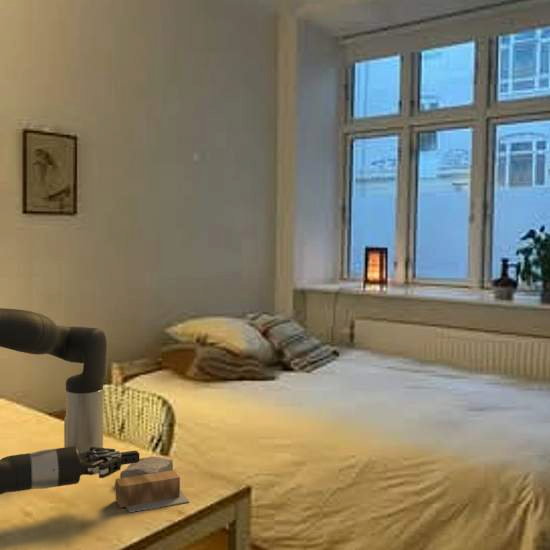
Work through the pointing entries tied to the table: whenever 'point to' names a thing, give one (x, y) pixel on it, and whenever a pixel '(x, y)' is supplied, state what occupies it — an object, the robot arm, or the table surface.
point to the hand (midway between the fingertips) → (138, 456)
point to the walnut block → (147, 488)
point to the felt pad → (158, 503)
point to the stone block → (148, 466)
